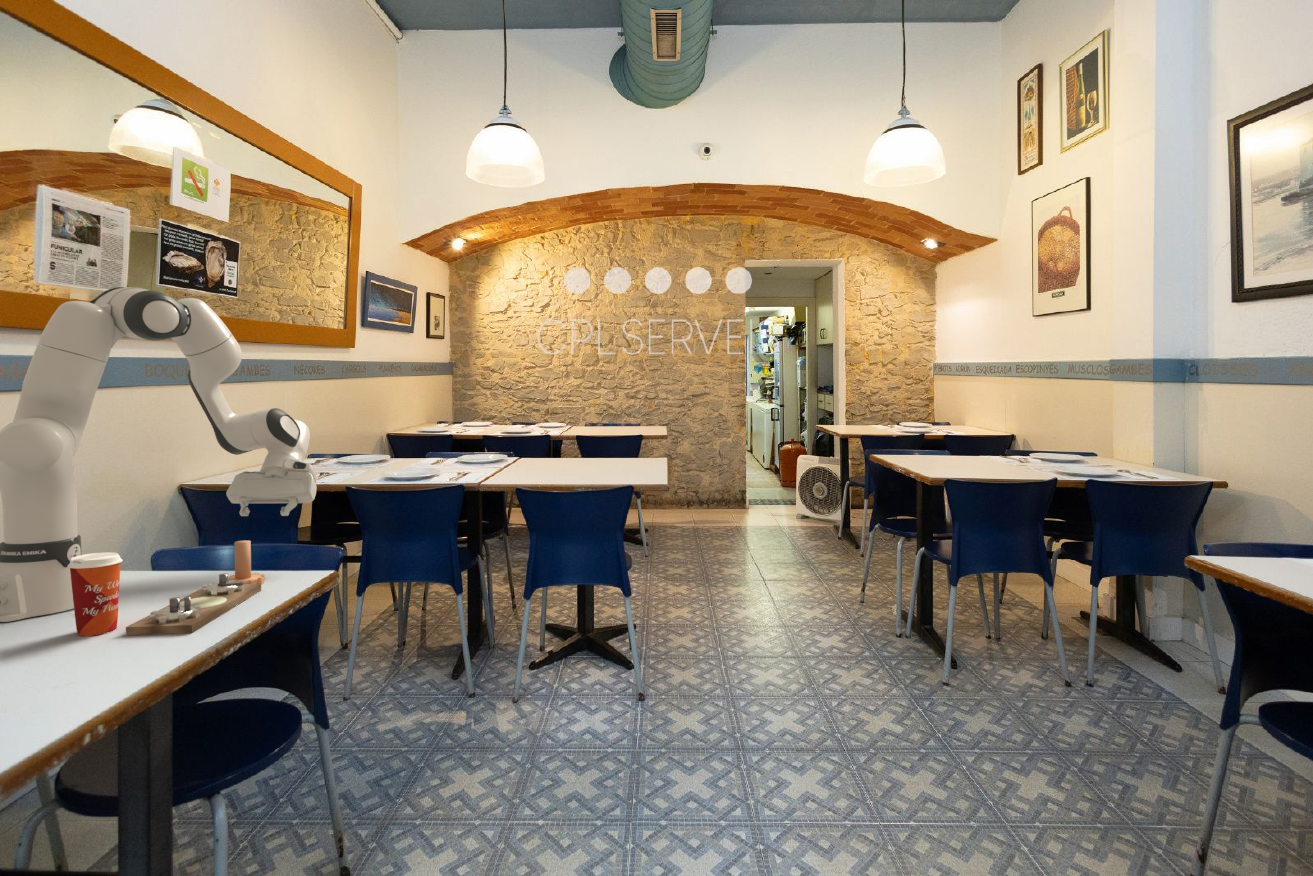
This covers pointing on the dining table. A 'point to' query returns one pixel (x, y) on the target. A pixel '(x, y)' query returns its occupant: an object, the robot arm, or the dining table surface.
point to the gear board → (208, 612)
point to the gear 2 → (223, 586)
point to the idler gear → (244, 564)
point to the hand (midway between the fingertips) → (263, 514)
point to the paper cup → (95, 592)
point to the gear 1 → (175, 612)
